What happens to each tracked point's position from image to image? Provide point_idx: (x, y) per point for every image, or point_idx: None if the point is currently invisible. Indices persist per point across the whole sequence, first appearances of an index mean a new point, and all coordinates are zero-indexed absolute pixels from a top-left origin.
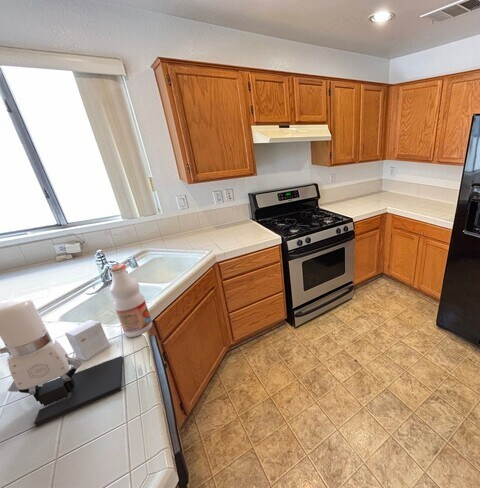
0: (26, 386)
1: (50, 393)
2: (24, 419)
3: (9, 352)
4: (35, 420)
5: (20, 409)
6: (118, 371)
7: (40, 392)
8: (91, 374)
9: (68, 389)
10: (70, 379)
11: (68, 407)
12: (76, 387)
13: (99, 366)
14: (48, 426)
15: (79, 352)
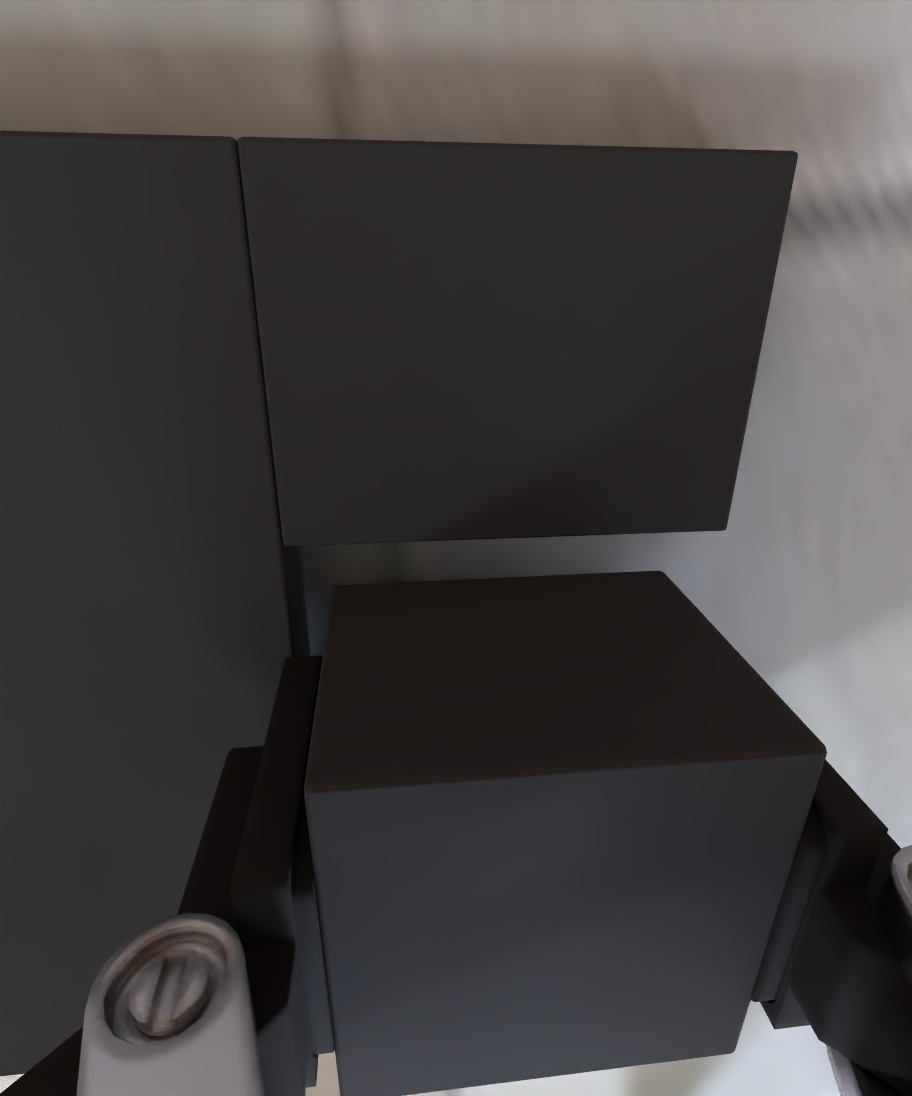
0: None
1: (580, 713)
2: (861, 521)
3: None
4: (775, 236)
5: (883, 745)
6: None
7: (781, 838)
8: (91, 918)
9: (296, 709)
10: (168, 943)
11: (222, 186)
12: (246, 740)
13: (22, 1025)
14: (560, 10)
15: None
